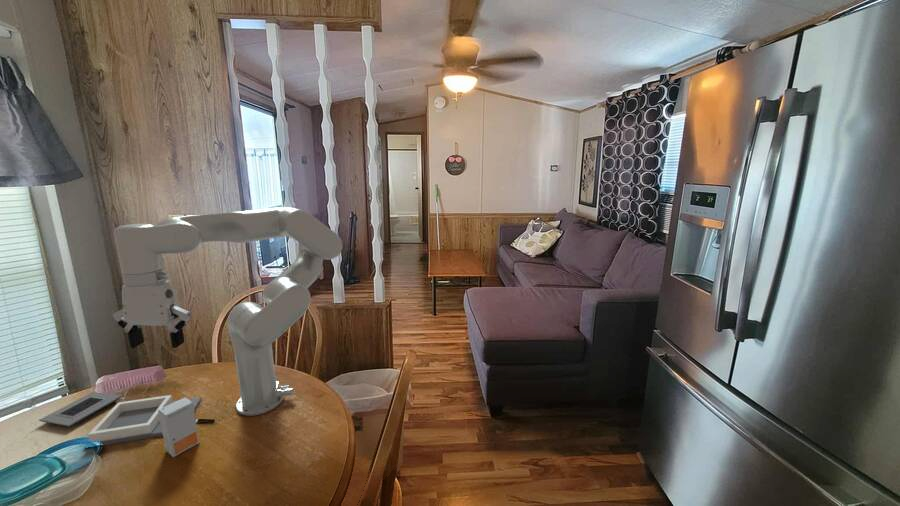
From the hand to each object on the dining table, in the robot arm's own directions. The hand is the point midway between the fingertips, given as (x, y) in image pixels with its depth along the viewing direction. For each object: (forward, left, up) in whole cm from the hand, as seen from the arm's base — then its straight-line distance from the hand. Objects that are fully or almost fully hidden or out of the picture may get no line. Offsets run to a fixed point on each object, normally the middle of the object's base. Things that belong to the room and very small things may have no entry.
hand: (158, 345), depth 87 cm
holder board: (+10, -10, -27) cm, 31 cm away
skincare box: (-3, +3, -27) cm, 28 cm away
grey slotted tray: (+30, -20, -28) cm, 46 cm away
